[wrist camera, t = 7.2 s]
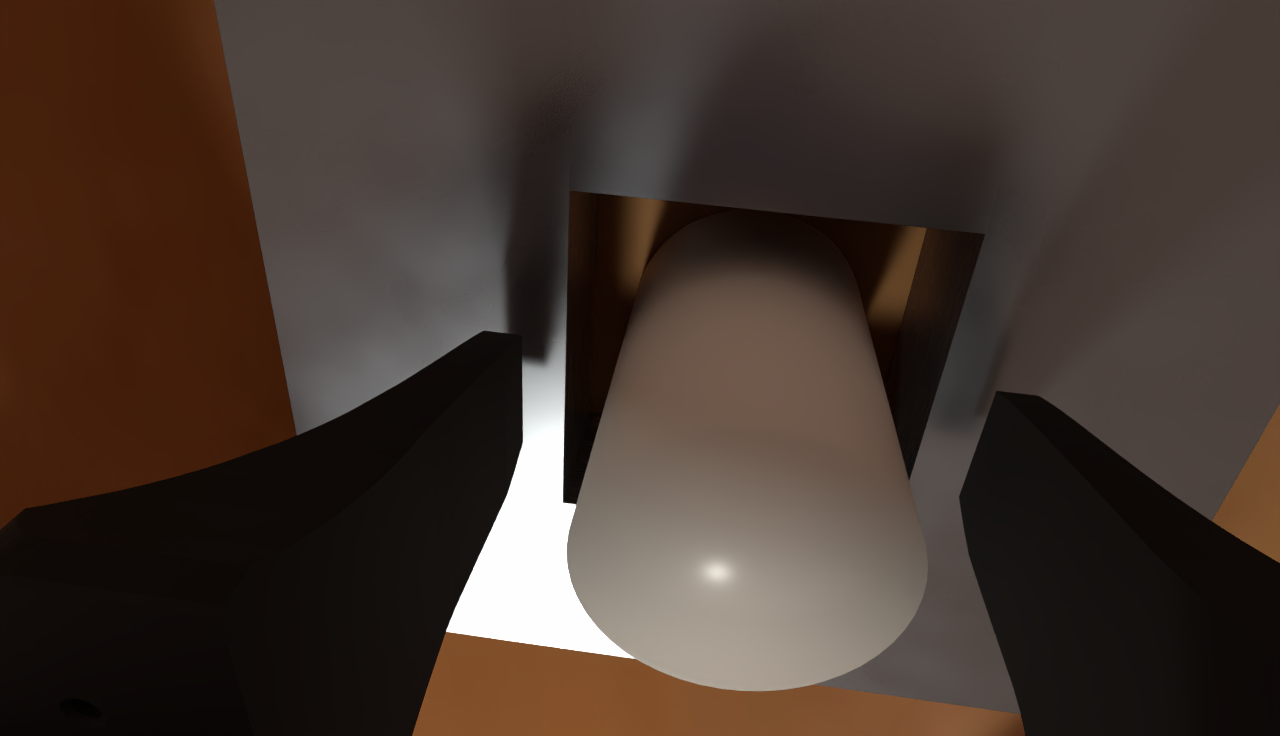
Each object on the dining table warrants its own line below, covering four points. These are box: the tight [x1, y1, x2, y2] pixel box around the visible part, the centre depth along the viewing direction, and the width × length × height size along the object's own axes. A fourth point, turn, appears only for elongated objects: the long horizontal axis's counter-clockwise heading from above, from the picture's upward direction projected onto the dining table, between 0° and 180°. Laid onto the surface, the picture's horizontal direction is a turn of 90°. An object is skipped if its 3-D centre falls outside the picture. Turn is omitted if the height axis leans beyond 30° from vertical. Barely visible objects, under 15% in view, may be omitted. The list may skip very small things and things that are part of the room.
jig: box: [214, 0, 1280, 714], centre depth 14 cm, size 16×14×3 cm
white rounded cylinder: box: [566, 209, 928, 691], centre depth 13 cm, size 4×4×7 cm
